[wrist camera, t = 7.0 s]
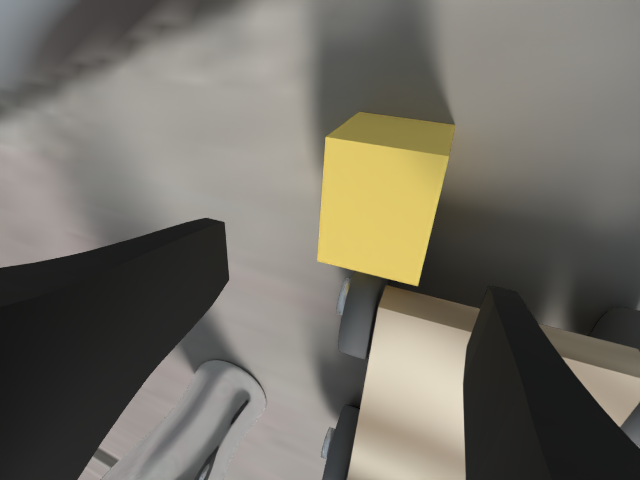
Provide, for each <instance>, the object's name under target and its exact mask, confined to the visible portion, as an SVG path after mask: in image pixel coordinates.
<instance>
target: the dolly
mask: <svg viewBox="0 0 640 480" xmlns="http://www.w3.org/2000/svg"><path fill="white" fill-rule="evenodd" d="M388 281H389V279H387V278H383V277H379V276H375V275H371V274H367V273H363V272H359V271H355V270H354V273H353V276H352V279H351V278H345V280H344V282H343V284H342V287H341V290H340V294H339V298H338V302H337V314H338V315H342V319H341V324H340V331H339V339H338V348H339V352H342V353H345V354H348V355H352V356H355V357H358V358H361V359H364V360H366V359H367V358H368V355H369V353H370V356H369V362H368V367H367V373H366V378H365V384H364V389H363V395H362V401H361V406H360V409H357V408H354V407H352V406H349V405H345V406H344V407H343V409H342V412H341V414H340V417H339V420H338V423H337V426H336V429H334V428H331V427H329V429H328V432H327V434H326V437H325V440H324V444H323V448H322V452H321V457H322V458H325V459H327V461H326V465H325V469H324V474H323V479H322V480H466V472H465V441H464V410H463V377H464V366H465V356H466V347H467V344H468V341H469V339H470V336H471V333H472V330H473V327H474V325H475V322H476V319H477V316H478V314H479V311H480V309H479V308H475V307H471V306H467V305H463V304H459V303H455V302H451V301H447V300H443V299H439V298H436V297H432V296H428V295H424V294H420V293H416V292H412V291H408V290H404V289H400V288H396V287H392V286H388ZM539 326H540V327H541V329H542V330H543V332H544V333H545V335H546V336H547V337H548V339H549V340H550V342H551V343H552V345H553V346H554V347H555V349H556V350H557V351H558V353H559V354H560V356H561V357H562V358H563V360H564V361H565V362H566V364H567V365H568V366H569V367H570V369H571V370H572V371H573V373H574V374H575V375H576V377H577V378H578V379H579V380H580V381H581V383H582V384H583V385H584V386H585V388H586V389H587V390H588V391H589V392H590V394H591V395H592V396H593V397H594V399H595V400H596V401H597V402H598V403H599V405H600V406H601V407H602V408H603V409H604V410H605V412H606V413H607V414H608V415H609V416H610V417H611V418H612V419H613V421H614V422H615V423H616V424H617V425H618V426H619V427H620V428H621V429H622V430H623V431H624V432H625V434H626V435H627V436H628V437H629V438H630V439H631V440H632V441H633V442H634V443H635V444H637V445H640V311H638V310H634V309H629V308H625V307H617V308H613V309H611V310H609V311H608V312H607V313H605V314H604V315H603V316H602V317H601V318H600V320H599V321H598V322H597V324H596V325H595V327H594V328H593V330H592V332H591V334H590V337H589V336H585V335H581V334H577V333H573V332H569V331H565V330H561V329H557V328H553V327H549V326H546V325H542V324H539ZM370 350H371V351H370Z"/></svg>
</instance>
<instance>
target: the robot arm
mask: <svg viewBox="0 0 640 480" xmlns="http://www.w3.org/2000/svg"><path fill="white" fill-rule="evenodd" d="M228 281H229V271H228V259H227V246H226V234H225V222H222V221H217V220H213V219H209V218H203V219H198V220H194V221H190V222H186V223H183V224H179V225H176V226H173V227H169V228H166V229H163V230H160V231H156V232H153V233H150V234H147V235H143V236H140V237H137V238H134V239H130V240H127V241H123V242H119V243H116V244H112V245H109V246H105V247H101V248H98V249H94V250H91V251H87V252H83V253H78V254H74V255H70V256H65V257H60V258H55V259H51V260H46V261H41V262H35V263H29V264H23V265H16V266H9V267H3V268H0V480H77V479H78V478H79V476H80V475H81V473H82V472H83V470H84V469H85V467H86V466H87V464H88V462H89V461H90V459H91V458H92V456H93V455H94V453H95V452H96V450H97V448H98V447H99V445H100V444H101V442H102V441H103V439H104V438H105V436H106V435H107V434H108V432H109V431H110V429H111V428H112V426H113V425H114V424H115V422H116V421H117V419H118V418H119V416H120V415H121V413H122V412H123V411H124V409H125V408H126V406H127V405H128V404H129V402H130V401H131V400H132V398H133V397H134V396H135V394H136V393H137V391H138V390H139V389H140V387H141V386H142V385H143V383H144V382H145V381H146V379H147V378H148V377H149V376H150V374H151V373H152V372H153V371H154V370H155V368H156V367H157V366H158V365H159V364H160V363H161V361H162V360H163V359H164V358H165V357H166V356H167V355H168V354H169V353H170V352H171V350H172V349H173V348H174V347H175V346H176V345H177V344H178V343H179V342H180V341H181V340H182V338H183V337H184V336H185V335H186V334H187V333H188V332H189V331H190V330H191V329H192V327H193V326H194V325H195V324H196V323H197V322H198V321H199V320H200V319H201V317H202V316H203V315H204V314H205V313H206V312H207V311H208V309H209V308H210V307H211V306H212V305H213V303H214V302H215V300H216V299H217V297H218V296H219V295H220V293H221V292H222V290H223V288H224V287H225V285H226V284H227V282H228ZM463 410H464V441H465V472H466V480H640V449H639V447H638V446H637V445H636V444H635V443H634V442H633V441H632V440H631V439H630V438H629V437H628V436H627V435H626V434H625V432H624V431H623V430H622V429H621V428H620V427H619V426H618V425H617V424H616V423H615V422H614V421H613V419H612V418H611V417H610V416H609V415H608V414H607V413H606V412H605V410H604V409H603V408H602V407H601V406H600V405H599V403H598V402H597V401H596V400H595V399H594V397H593V396H592V395H591V394H590V392H589V391H588V390H587V389H586V388H585V386H584V385H583V384H582V383H581V381H580V380H579V379H578V378H577V377H576V375H575V374H574V373H573V371H572V370H571V369H570V367H569V366H568V365H567V364H566V362H565V361H564V360H563V358H562V357H561V356H560V354H559V353H558V351H557V350H556V349H555V347H554V346H553V345H552V343H551V342H550V340H549V339H548V337H547V336H546V335H545V333H544V332H543V330H542V329H541V327H540V326H539V324H538V323H537V321H536V320H535V319H534V317H533V316H532V314H531V313H530V311H529V310H528V308H527V307H526V305H525V303H524V302H523V300H522V299H521V298H520V296H519V295H518V293H517V292H515V291H511V290H507V289H503V288H499V287H494V286H490V285H489V286H488V289H487V292H486V294H485V297H484V300H483V303H482V305H481V308H480V311H479V314H478V316H477V319H476V322H475V325H474V327H473V330H472V333H471V336H470V339H469V341H468V344H467V347H466V356H465V366H464V377H463Z"/></svg>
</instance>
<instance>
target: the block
mask: <svg viewBox="0 0 640 480" xmlns="http://www.w3.org/2000/svg"><path fill="white" fill-rule="evenodd" d="M454 130H455V125H453V124H445V123H438V122H430V121H423V120H416V119H408V118H401V117H394V116H386V115H379V114H372V113H364V112H358V113H357V114H355V115H354V116H353V117H351V118H350V119H349V120H347V121H346V122H345V123H343V124H342V125H341V126H339V127H338V128H337V129H335V130H334V131H333V132H331V133H330V134H329V135H327V136H326V138H325V153H324V168H323V184H322V199H321V214H320V229H319V244H318V259H317V261H319V262H323V263H327V264H331V265H335V266H339V267H343V268H347V269H351V270H355V271H359V272H363V273H367V274H371V275H375V276H379V277H383V278H387V279H391V280H395V281H399V282H403V283H407V284H411V285H415V286H418V283H419V279H420V275H421V271H422V267H423V263H424V259H425V255H426V250H427V246H428V242H429V238H430V234H431V230H432V226H433V222H434V217H435V213H436V209H437V205H438V201H439V197H440V193H441V189H442V184H443V180H444V176H445V172H446V168H447V164H448V160H449V155H450V150H451V145H452V140H453V135H454Z"/></svg>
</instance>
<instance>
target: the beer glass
mask: <svg viewBox="0 0 640 480" xmlns="http://www.w3.org/2000/svg"><path fill="white" fill-rule="evenodd" d="M265 407H266V398H265V395H264V392H263V390H262V388H261V386H260V385H259V384H258V382H257V381H256V380H255V379H254V378H253V377H252V376H251V375H250V374H249V373H247V372H246V371H245V370H243V369H241V368H240V367H238V366H236V365H234V364H232V363H229V362H226V361H221V360H210V361H206V362H204V363H203V364H202V365H200V366H199V368H198V369H197V371H196V372H195V374H194V376H193V378H192V380H191V382H190V384H189V385H188V387H187V389H186V391H185V392H184V394H183V396H182V397H181V399H180V400H179V402H178V403H177V404H176V406H175V407H174V408H173V409H172V410H171V411H170V413H169V414H168V415H167V416H166V417H165V418H164V419H163V420H162V421H161V422H160V423H159V424H158V425H157V426H156V427H155V428H154V429H153V430H151V431H150V432H149V433H148V434H147V435H146V436H145V437H144V438H143V439H142V440H141V441H139V442H138V443H137V444H136V445H135V446H134V447H133V448H132V449H131V450H130V451H129V452H128V453H127V454H126V455H124V456H123V457H122V458H121V459H120V460H119V461H118V462H117V463H116V464H115V465H114V466H113V467H112V468H111V469H110V470H109V471H108V472H107V473H106V474H105V475H104V476H103V477H102V478H101V479H100V480H223V479H224V477H225V474H226V472H227V469H228V466H229V464H230V461H231V459H232V457H233V455H234V453H235V451H236V449H237V447H238V446H239V444H240V442H241V441H242V439H243V438H244V436H245V435H246V434H247V432H248V431H249V430H250V429H251V427H252V426H253V425H254V424H255V423H256V421H257V420H258V419H259V418H260V416H261V415H262V413H263V412H264V410H265Z"/></svg>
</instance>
